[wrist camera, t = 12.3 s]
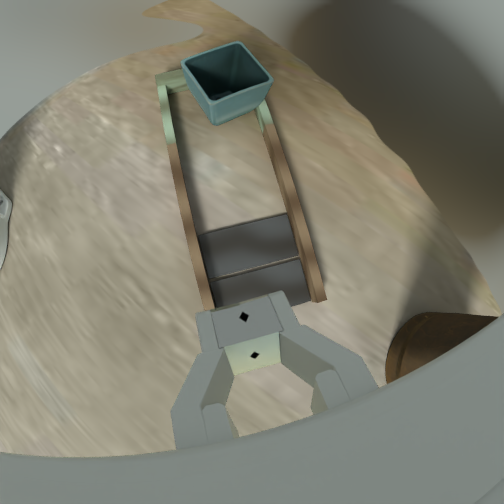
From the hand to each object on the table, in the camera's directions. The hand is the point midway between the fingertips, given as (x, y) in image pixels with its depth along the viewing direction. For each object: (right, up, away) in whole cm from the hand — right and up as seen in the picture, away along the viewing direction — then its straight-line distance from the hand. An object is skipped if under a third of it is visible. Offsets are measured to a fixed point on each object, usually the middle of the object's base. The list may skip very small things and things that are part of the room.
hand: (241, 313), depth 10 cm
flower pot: (-4, +23, +31) cm, 39 cm away
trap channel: (-2, +11, +29) cm, 31 cm away
